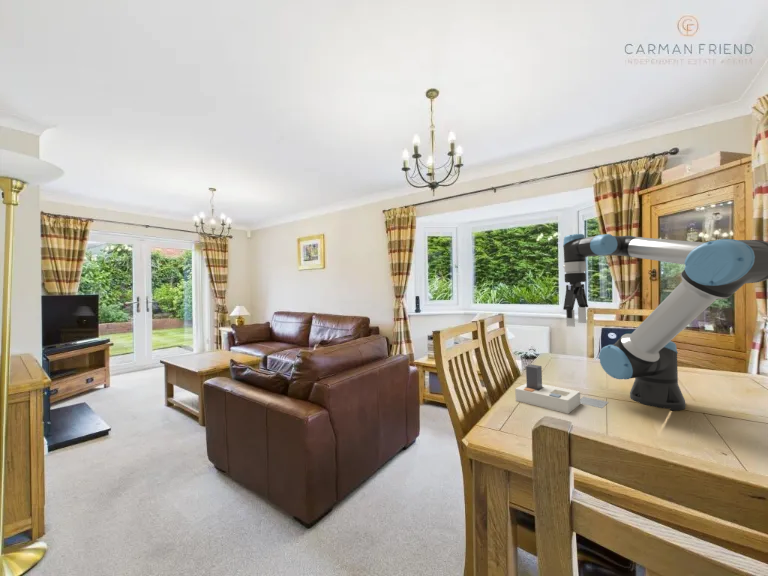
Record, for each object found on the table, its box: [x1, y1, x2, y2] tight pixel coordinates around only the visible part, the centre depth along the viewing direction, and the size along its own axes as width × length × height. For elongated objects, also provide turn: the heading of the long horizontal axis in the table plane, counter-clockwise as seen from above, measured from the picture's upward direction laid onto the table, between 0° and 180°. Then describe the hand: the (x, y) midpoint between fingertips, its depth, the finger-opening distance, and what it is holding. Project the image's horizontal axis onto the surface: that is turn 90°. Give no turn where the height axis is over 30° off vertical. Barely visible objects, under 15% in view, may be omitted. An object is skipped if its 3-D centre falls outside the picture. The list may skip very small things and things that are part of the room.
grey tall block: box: [525, 364, 543, 391], centre depth 120 cm, size 4×4×12 cm
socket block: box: [514, 382, 581, 415], centre depth 116 cm, size 18×12×5 cm, turn 41°
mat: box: [580, 396, 609, 409], centre depth 115 cm, size 8×8×1 cm
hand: (576, 324), depth 130 cm, fingers open, 13 cm apart
